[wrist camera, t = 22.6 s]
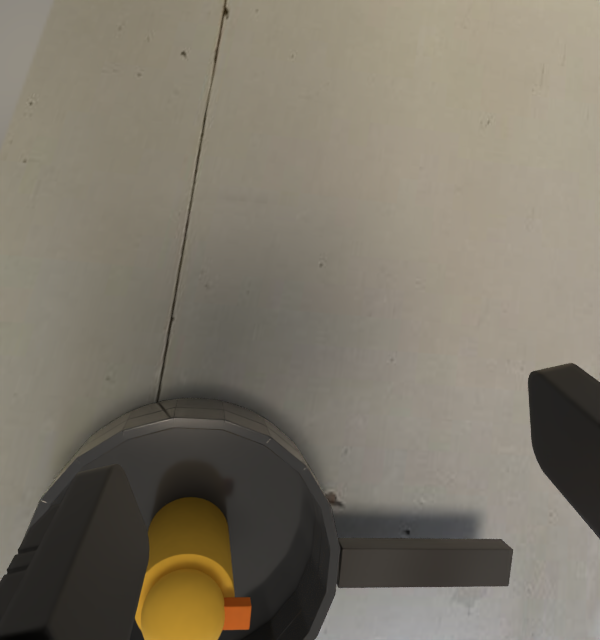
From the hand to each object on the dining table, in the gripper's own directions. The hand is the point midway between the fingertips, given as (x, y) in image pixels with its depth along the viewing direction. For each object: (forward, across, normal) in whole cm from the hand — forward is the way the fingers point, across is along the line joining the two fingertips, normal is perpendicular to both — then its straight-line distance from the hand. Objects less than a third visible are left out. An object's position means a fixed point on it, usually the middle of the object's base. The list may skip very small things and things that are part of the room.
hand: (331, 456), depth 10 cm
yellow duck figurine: (+19, +10, +16) cm, 27 cm away
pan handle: (+17, -4, +21) cm, 27 cm away
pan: (+19, +10, +17) cm, 27 cm away
